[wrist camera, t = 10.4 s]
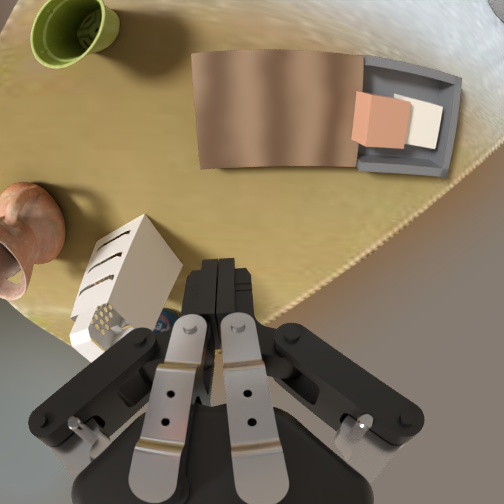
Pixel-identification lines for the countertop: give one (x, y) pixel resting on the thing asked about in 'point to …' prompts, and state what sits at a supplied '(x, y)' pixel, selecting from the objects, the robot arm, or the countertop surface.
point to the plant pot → (72, 31)
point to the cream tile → (422, 122)
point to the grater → (123, 286)
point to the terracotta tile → (380, 120)
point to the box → (420, 87)
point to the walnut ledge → (275, 107)
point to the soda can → (165, 321)
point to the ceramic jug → (27, 234)
